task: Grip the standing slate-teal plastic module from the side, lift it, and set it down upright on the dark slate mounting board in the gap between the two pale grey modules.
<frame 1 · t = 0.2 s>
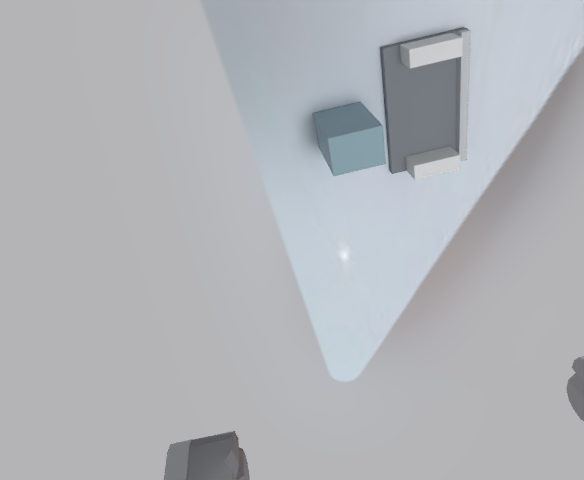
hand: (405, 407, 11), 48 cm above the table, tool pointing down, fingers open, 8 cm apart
mounting board: (423, 104, 57), on the table
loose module: (339, 124, 57), on the table
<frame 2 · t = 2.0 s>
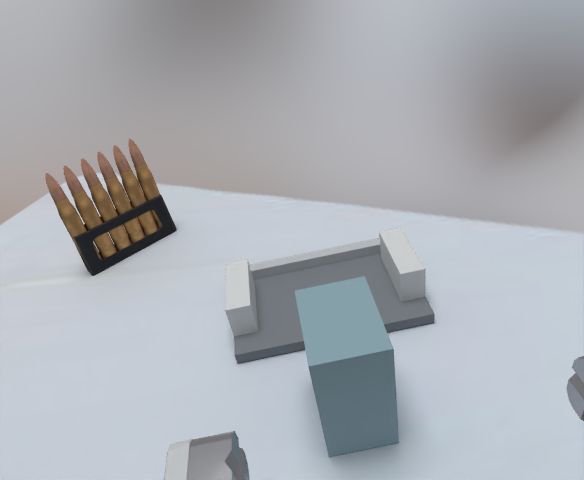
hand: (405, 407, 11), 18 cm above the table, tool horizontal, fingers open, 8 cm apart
mounting board: (324, 300, 40), on the table
ammunition clip: (134, 250, 52), on the table
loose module: (353, 408, 31), on the table
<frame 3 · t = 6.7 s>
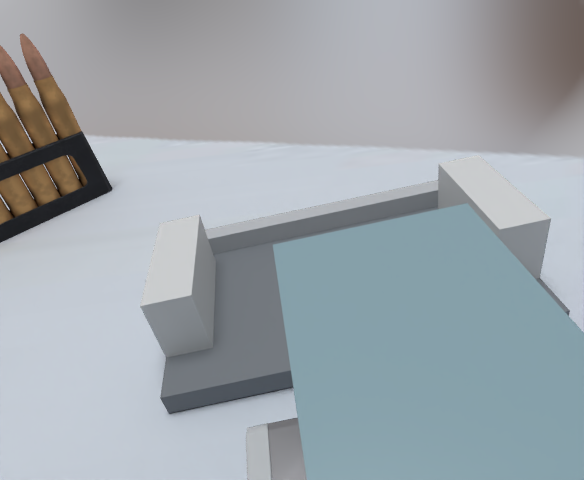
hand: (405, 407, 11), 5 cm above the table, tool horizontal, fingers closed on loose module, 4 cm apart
mounting board: (340, 289, 22), on the table
ammunition clip: (44, 219, 34), on the table
when the fingers open (7 cm above the table, at t = 12.7 s): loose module drops 1 cm, resting on mounting board.
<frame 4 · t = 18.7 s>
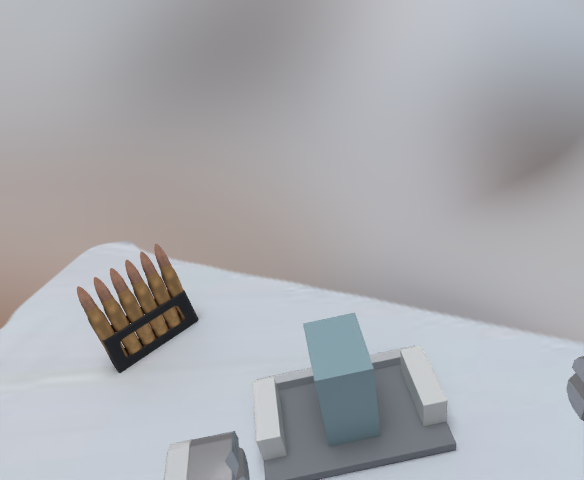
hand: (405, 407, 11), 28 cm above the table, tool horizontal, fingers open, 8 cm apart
mounting board: (348, 416, 42), on the table
ammunition clip: (158, 342, 54), on the table
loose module: (347, 410, 41), point 1 cm above the table, touching mounting board
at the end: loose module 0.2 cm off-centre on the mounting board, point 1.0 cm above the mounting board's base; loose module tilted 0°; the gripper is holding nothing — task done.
